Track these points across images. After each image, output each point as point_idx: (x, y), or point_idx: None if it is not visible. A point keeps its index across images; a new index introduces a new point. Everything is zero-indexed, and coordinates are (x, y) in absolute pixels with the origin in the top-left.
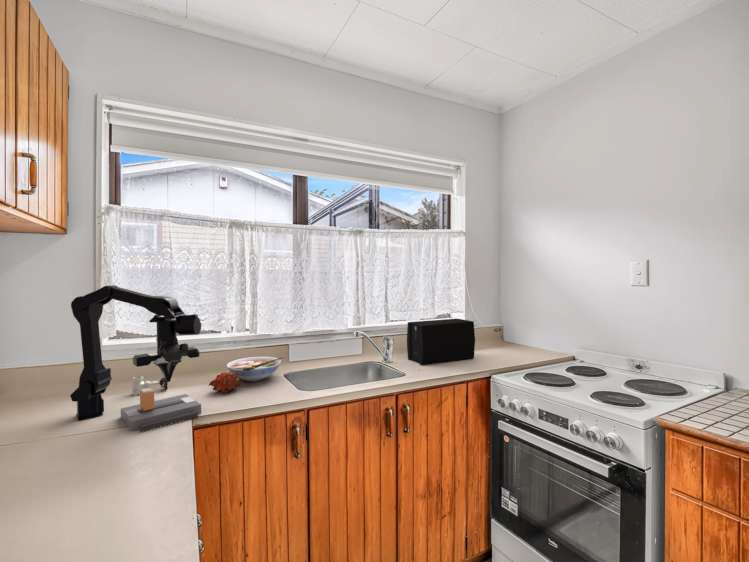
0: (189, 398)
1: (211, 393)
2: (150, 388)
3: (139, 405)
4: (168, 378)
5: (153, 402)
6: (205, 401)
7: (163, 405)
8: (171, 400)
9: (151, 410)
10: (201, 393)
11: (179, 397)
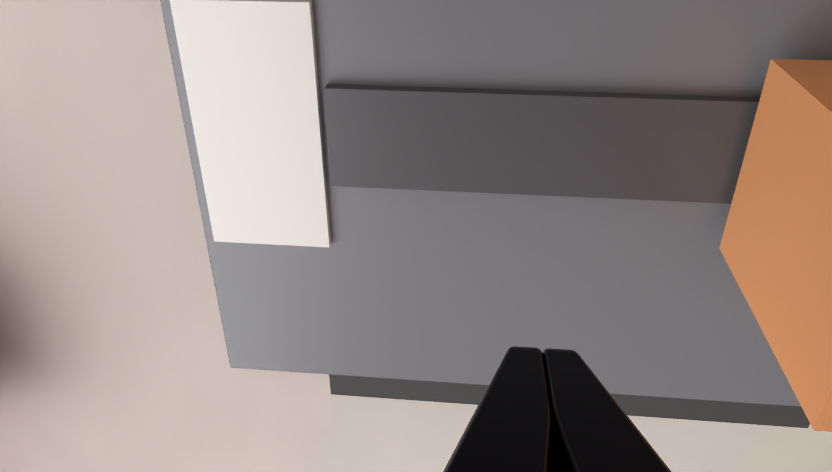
0: (228, 167)
1: (2, 360)
2: (817, 423)
3: (771, 368)
4: (559, 401)
5: (824, 93)
6: (77, 184)
7: (598, 129)
8: (431, 275)
9: None
10: (93, 420)
11: (323, 309)
